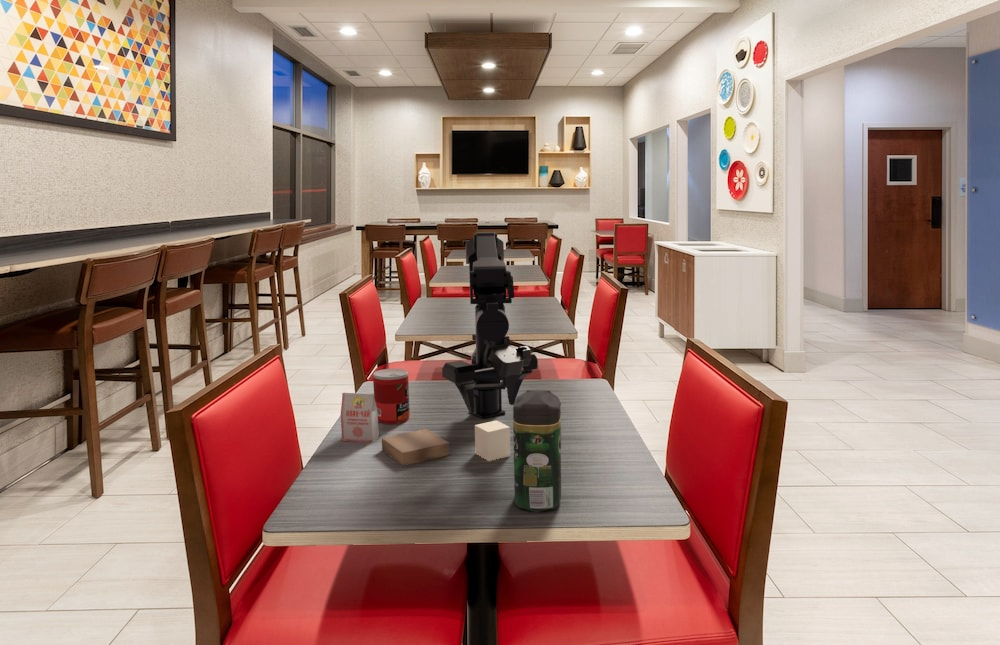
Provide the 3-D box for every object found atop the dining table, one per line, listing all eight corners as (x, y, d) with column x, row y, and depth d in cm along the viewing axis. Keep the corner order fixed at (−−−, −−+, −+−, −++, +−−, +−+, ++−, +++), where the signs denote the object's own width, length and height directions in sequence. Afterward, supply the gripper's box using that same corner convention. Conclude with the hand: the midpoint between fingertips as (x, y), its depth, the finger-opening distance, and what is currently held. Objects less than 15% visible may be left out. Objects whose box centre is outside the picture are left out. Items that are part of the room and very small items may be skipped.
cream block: (496, 448, 143) (496, 420, 142) (510, 456, 139) (509, 427, 137) (475, 453, 140) (474, 425, 139) (488, 461, 136) (488, 432, 135)
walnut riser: (426, 442, 148) (426, 428, 148) (449, 456, 140) (449, 442, 139) (382, 452, 143) (381, 438, 142) (403, 467, 134) (402, 452, 134)
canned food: (403, 425, 158) (401, 377, 156) (369, 423, 159) (367, 376, 157) (414, 414, 165) (412, 369, 163) (382, 413, 167) (379, 367, 164)
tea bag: (348, 435, 152) (346, 390, 150) (378, 436, 151) (376, 391, 149) (342, 441, 148) (339, 395, 146) (372, 442, 147) (370, 396, 145)
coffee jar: (516, 488, 124) (515, 385, 120) (562, 489, 123) (562, 386, 119) (511, 512, 114) (509, 402, 111) (560, 514, 113) (560, 403, 110)
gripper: (469, 344, 123) (471, 429, 126) (555, 331, 133) (555, 410, 136) (439, 333, 132) (442, 413, 135) (521, 322, 142) (522, 396, 145)
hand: (491, 408), depth 138 cm, fingers open, 9 cm apart
